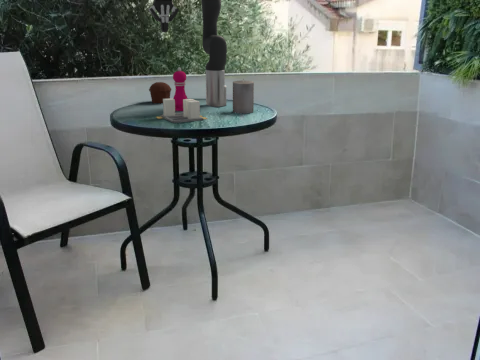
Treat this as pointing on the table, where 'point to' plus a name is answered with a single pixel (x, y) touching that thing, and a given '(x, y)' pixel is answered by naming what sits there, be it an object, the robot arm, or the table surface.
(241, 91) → the pillar candle
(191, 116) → the block
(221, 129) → the table surface
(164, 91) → the muffin
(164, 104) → the tab inner
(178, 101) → the pepper mill
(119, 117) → the table surface
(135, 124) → the table surface
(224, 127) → the table surface
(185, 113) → the tab middle
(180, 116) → the switch box
